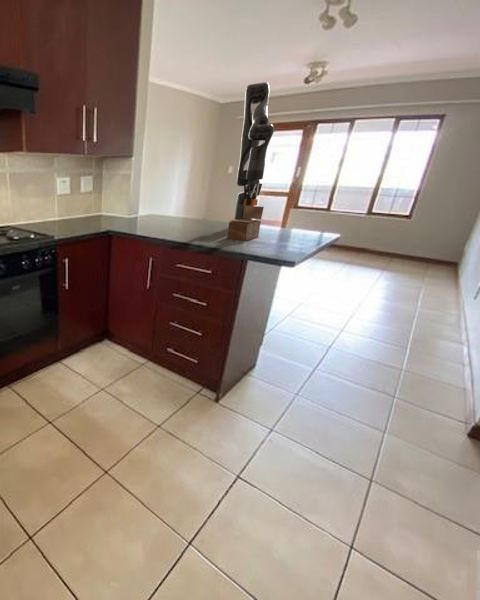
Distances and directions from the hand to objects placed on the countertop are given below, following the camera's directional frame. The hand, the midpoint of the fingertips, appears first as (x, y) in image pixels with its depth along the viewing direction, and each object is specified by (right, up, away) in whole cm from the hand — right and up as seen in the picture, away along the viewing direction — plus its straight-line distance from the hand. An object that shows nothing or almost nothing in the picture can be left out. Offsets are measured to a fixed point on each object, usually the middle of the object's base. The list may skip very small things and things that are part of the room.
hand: (250, 204), depth 172 cm
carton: (-2, -16, +4) cm, 17 cm away
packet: (0, 0, 0) cm, 0 cm away
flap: (+3, -3, +3) cm, 6 cm away
